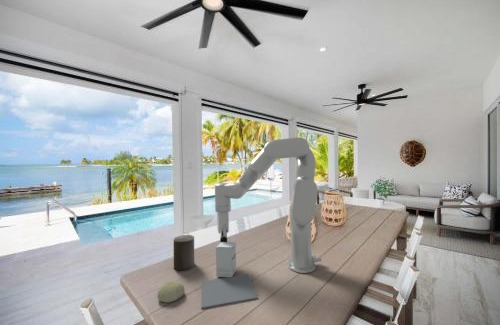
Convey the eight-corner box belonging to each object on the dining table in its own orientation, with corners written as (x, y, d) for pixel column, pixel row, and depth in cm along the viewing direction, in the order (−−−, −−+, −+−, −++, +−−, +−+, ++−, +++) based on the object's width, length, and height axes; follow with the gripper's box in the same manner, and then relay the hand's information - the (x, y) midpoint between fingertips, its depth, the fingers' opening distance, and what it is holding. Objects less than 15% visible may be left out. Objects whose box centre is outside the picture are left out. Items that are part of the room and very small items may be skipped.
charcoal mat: (248, 275, 90) (248, 274, 90) (258, 298, 75) (258, 297, 75) (201, 282, 86) (201, 281, 86) (201, 309, 70) (201, 307, 70)
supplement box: (232, 277, 88) (231, 247, 89) (215, 276, 89) (215, 246, 90) (237, 270, 95) (236, 242, 96) (221, 269, 97) (220, 241, 98)
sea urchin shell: (160, 285, 82) (174, 270, 82) (174, 298, 82) (189, 283, 83) (151, 300, 73) (167, 283, 73) (167, 315, 73) (183, 298, 74)
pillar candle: (176, 273, 94) (176, 240, 94) (171, 264, 102) (171, 234, 102) (197, 267, 99) (197, 236, 99) (191, 259, 107) (191, 230, 107)
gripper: (214, 205, 109) (215, 240, 108) (216, 212, 94) (217, 252, 94) (228, 204, 110) (229, 239, 110) (232, 210, 96) (233, 250, 96)
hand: (223, 245), depth 102 cm, fingers closed
